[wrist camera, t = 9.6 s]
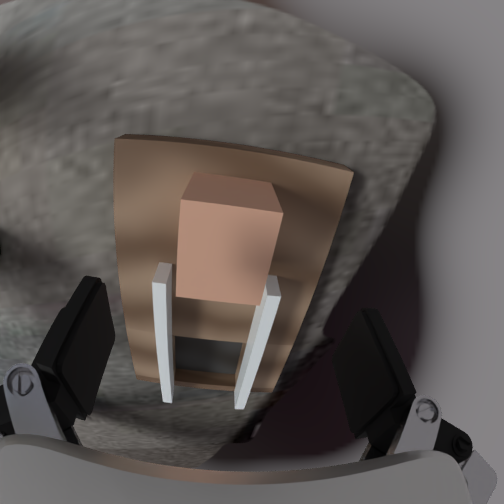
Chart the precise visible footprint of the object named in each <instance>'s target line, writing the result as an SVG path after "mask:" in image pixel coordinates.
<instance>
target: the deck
mask: <svg viewBox="0 0 504 504" xmlns="http://www.w3.org/2000/svg"><path fill="white" fill-rule="evenodd" d="M194 172H200V173H208V174H216V175H223V176H231V177H238V178H245V179H251V180H258V181H264V182H270V183H272V186H273V188H274V191H275V193H276V196H277V198H278V201H279V203H280V206H281V208H282V211H283V217H282V221H281V225H280V229H279V233H278V237H277V241H276V245H275V249H274V253H273V257H272V261H271V265H270V269H269V273H268V275H273V276H277V280H278V284H279V289H280V293H281V299H280V302H279V305H278V309H277V312H276V315H275V318H274V321H273V325H272V328H271V331H270V334H269V337H268V340H267V343H266V346H265V349H264V352H263V355H262V358H261V361H260V364H259V367H258V370H257V373H256V376H255V379H254V382H253V385H252V388H251V390H250V392H272V391H273V389H274V387H275V385H276V383H277V380H278V378H279V376H280V374H281V372H282V369H283V367H284V365H285V362H286V360H287V358H288V356H289V353H290V351H291V349H292V346H293V344H294V341H295V339H296V337H297V334H298V332H299V329H300V327H301V324H302V322H303V319H304V317H305V314H306V312H307V309H308V307H309V304H310V302H311V299H312V297H313V294H314V291H315V289H316V286H317V283H318V281H319V278H320V275H321V272H322V270H323V267H324V264H325V261H326V258H327V256H328V253H329V250H330V247H331V244H332V241H333V238H334V235H335V232H336V229H337V226H338V223H339V220H340V217H341V214H342V211H343V207H344V204H345V201H346V198H347V194H348V191H349V188H350V184H351V181H352V177H353V174H354V172H353V171H351V170H350V169H348V168H347V167H346V166H344V165H341V164H337V163H333V162H329V161H324V160H320V159H316V158H311V157H306V156H302V155H297V154H292V153H286V152H281V151H276V150H270V149H264V148H258V147H252V146H246V145H239V144H232V143H225V142H217V141H209V140H200V139H190V138H180V137H168V136H153V135H134V134H124V135H122V136H120V137H118V138H115V143H114V223H115V240H116V253H117V264H118V274H119V282H120V290H121V298H122V305H123V312H124V318H125V324H126V330H127V335H128V340H129V346H130V351H131V355H132V360H133V365H134V369H135V373H136V378H137V379H138V380H144V381H150V382H156V383H160V375H159V367H158V358H157V348H156V338H155V326H154V311H153V293H152V281H153V278H154V275H155V273H156V270H157V267H158V264H159V262H162V263H170V264H172V349H173V371H174V385H177V386H185V387H194V388H203V389H214V390H228V391H235V387H236V383H237V379H238V375H239V372H240V368H241V364H242V360H243V356H244V352H245V348H246V344H247V341H248V337H249V333H250V329H251V325H252V321H253V317H254V313H255V309H256V305H247V304H237V303H227V302H218V301H209V300H200V299H192V298H184V297H176V270H177V248H178V230H179V216H180V203H181V198H182V196H183V194H184V191H185V189H186V187H187V185H188V183H189V181H190V179H191V177H192V175H193V173H194Z"/></svg>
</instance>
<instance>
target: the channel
mask: <svg viewBox="0 0 504 504" xmlns="http://www.w3.org/2000/svg"><path fill="white" fill-rule="evenodd" d="M152 293H153V311H154V326H155V338H156V348H157V358H158V367H159V375H160V383H161V390H162V397H163V402H168V403H172V399H173V391H174V371H173V349H172V264H170V263H162V262H159V264H158V267H157V270H156V273H155V275H154V278H153V281H152ZM280 299H281V293H280V289H279V284H278V280H277V276H273V275H268V277H267V281H266V284H265V288H264V292H263V296H262V300H261V304H260V306H257V305H256V309H255V313H254V317H253V321H252V325H251V329H250V333H249V337H248V341H247V344H246V348H245V352H244V356H243V360H242V364H241V368H240V372H239V375H238V379H237V383H236V387H235V391H234V394H235V409H244V407H245V405H246V402H247V399H248V396H249V393H250V390H251V388H252V385H253V382H254V379H255V376H256V373H257V370H258V367H259V364H260V361H261V358H262V355H263V352H264V349H265V346H266V343H267V340H268V337H269V334H270V331H271V328H272V325H273V321H274V318H275V315H276V312H277V309H278V305H279V302H280Z"/></svg>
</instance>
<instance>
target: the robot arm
mask: <svg viewBox="0 0 504 504" xmlns="http://www.w3.org/2000/svg"><path fill="white" fill-rule="evenodd" d="M114 341H115V331H114V326H113V322H112V317H111V312H110V307H109V302H108V297H107V291H106V285H105V283H102V282H101V279H100V278H97V277H91V276H84V278H83V279H82V281H81V282H80V284H79V285H78V287H77V289H76V290H75V292H74V294H73V295H72V297H71V299H70V300H69V302H68V304H67V305H66V307H64V308H62V309H61V311H60V312H59V314H58V315H57V317H56V319H55V321H54V322H53V324H52V326H51V328H50V330H49V332H48V333H47V335H46V337H45V339H44V341H43V343H42V345H41V347H40V349H39V351H38V353H37V355H36V357H35V359H34V361H33V363H32V365H29V364H25V363H20V364H16V365H14V366H12V367H11V368H10V369H9V370H7V372H6V374H5V376H4V380H3V385H1V386H0V504H487V502H488V500H489V498H490V496H491V495H492V493H493V491H494V489H495V487H496V484H497V475H496V473H495V471H494V470H493V469H492V468H491V467H490V465H489V464H488V463H487V462H486V461H485V460H484V459H483V458H482V457H481V456H480V455H479V453H478V452H477V451H476V450H473V451H472V448H473V447H472V441H471V439H470V437H469V436H468V435H467V434H466V433H465V432H463V431H462V430H460V429H458V428H457V427H455V426H453V425H452V424H450V423H448V422H447V421H445V420H443V419H442V418H441V416H442V412H441V408H440V406H439V404H438V403H437V401H436V400H435V399H433V398H432V397H430V396H427V395H421V396H418V397H417V398H416V397H415V393H416V390H415V388H414V385H413V383H412V381H411V379H410V376H409V374H408V372H407V369H406V367H405V365H404V363H403V361H402V358H401V356H400V354H399V352H398V350H397V348H396V346H395V344H394V342H393V339H392V337H391V335H390V333H389V331H388V329H387V327H386V325H385V323H384V321H383V319H382V317H381V315H380V313H379V311H378V310H377V309H375V308H362V309H361V310H360V311H358V312H357V313H356V315H355V317H354V318H353V320H352V322H351V324H350V326H349V328H348V329H347V331H346V333H345V335H344V337H343V338H342V340H341V342H340V344H339V345H338V347H337V349H336V350H335V352H334V354H333V357H332V363H333V367H334V370H335V374H336V378H337V381H338V385H339V388H340V392H341V396H342V400H343V404H344V407H345V411H346V415H347V419H348V423H349V427H350V430H351V432H352V433H354V435H355V438H356V439H358V438H364V437H368V440H369V443H368V445H367V447H366V449H365V451H364V453H363V454H362V456H361V458H360V460H359V462H353V463H348V464H342V465H336V466H329V467H322V468H312V469H302V470H290V471H270V472H231V471H230V472H229V471H212V470H200V469H190V468H181V467H173V466H166V465H160V464H154V463H149V462H143V461H138V460H134V459H129V458H125V457H120V456H116V455H112V454H108V453H104V452H100V451H97V450H93V449H90V448H86V447H83V445H82V443H81V441H80V439H79V437H78V435H77V433H76V431H75V429H74V427H73V425H74V422H75V419H76V418H78V419H81V420H85V419H86V416H87V415H90V414H91V412H92V409H93V406H94V402H95V399H96V396H97V392H98V389H99V386H100V383H101V379H102V376H103V373H104V370H105V367H106V364H107V361H108V358H109V355H110V352H111V350H112V347H113V344H114Z"/></svg>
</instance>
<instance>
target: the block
mask: <svg viewBox="0 0 504 504" xmlns="http://www.w3.org/2000/svg"><path fill="white" fill-rule="evenodd" d="M282 217H283V211H282V208H281V206H280V203H279V201H278V198H277V196H276V193H275V191H274V188H273V186H272V183H270V182H264V181H258V180H251V179H245V178H238V177H231V176H223V175H216V174H208V173H200V172H194V173H193V175H192V177H191V179H190V181H189V183H188V185H187V187H186V189H185V191H184V194H183V196H182V198H181V203H180V216H179V230H178V248H177V270H176V297H184V298H192V299H200V300H209V301H218V302H227V303H237V304H247V305H257V306H260V304H261V300H262V296H263V292H264V288H265V284H266V281H267V277H268V273H269V269H270V265H271V261H272V257H273V253H274V249H275V245H276V241H277V237H278V233H279V229H280V225H281V221H282Z"/></svg>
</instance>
